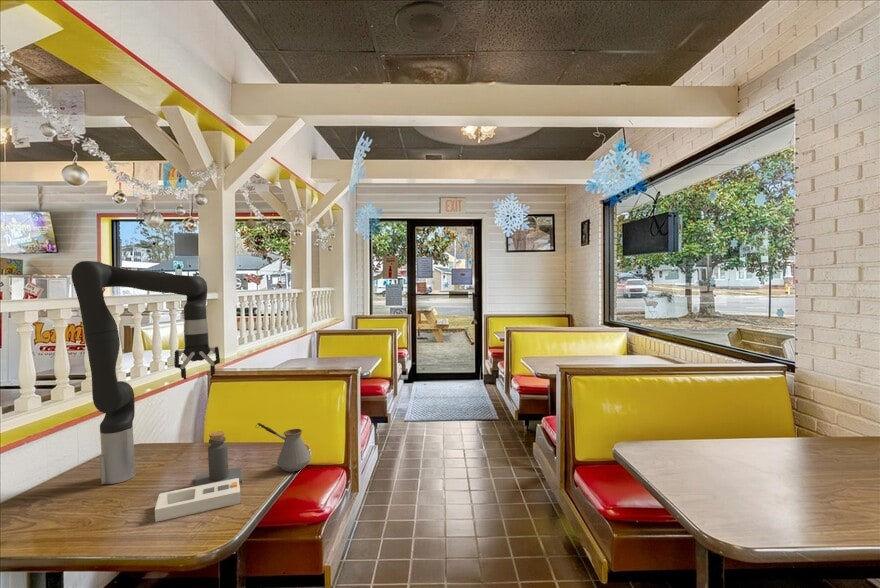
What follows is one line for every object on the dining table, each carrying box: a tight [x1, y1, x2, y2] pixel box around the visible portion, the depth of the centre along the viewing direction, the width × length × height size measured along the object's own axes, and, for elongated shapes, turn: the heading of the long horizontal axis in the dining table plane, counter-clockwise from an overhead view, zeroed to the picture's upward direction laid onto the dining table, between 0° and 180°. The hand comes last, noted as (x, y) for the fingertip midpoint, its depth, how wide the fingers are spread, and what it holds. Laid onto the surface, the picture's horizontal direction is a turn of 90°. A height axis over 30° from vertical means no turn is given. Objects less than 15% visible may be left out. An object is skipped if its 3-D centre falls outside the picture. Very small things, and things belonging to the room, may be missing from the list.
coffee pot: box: [255, 422, 312, 473], centre depth 166 cm, size 21×12×15 cm, turn 71°
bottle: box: [207, 430, 229, 481], centre depth 155 cm, size 6×6×15 cm
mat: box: [193, 466, 243, 487], centre depth 155 cm, size 14×12×1 cm
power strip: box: [154, 478, 242, 523], centre depth 139 cm, size 22×11×4 cm, turn 116°
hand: (198, 377), depth 164 cm, fingers open, 8 cm apart
